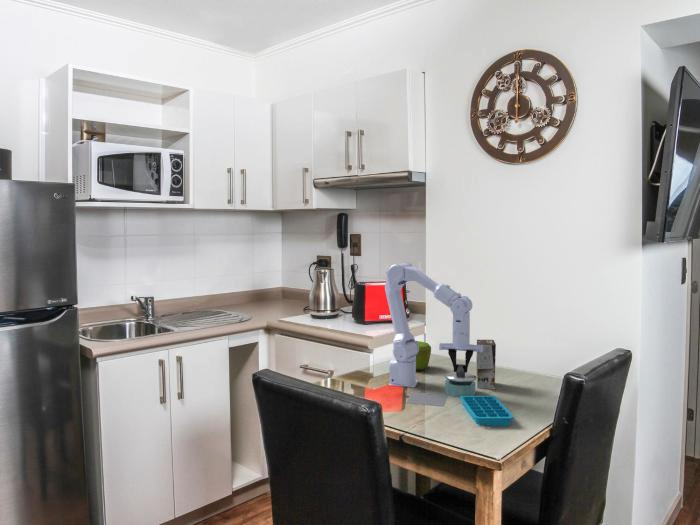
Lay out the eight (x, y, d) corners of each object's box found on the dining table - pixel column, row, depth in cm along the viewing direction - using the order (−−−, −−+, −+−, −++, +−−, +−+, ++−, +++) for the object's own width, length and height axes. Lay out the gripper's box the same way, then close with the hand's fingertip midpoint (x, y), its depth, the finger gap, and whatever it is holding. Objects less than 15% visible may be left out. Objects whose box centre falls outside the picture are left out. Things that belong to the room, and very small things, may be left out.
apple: (397, 364, 225) (397, 337, 224) (426, 363, 226) (426, 337, 225) (403, 372, 212) (404, 344, 212) (434, 372, 214) (434, 343, 213)
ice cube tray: (474, 428, 155) (475, 418, 155) (458, 405, 175) (458, 396, 175) (515, 427, 155) (515, 417, 155) (494, 404, 176) (494, 395, 175)
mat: (406, 404, 175) (406, 402, 175) (412, 393, 186) (412, 392, 186) (443, 407, 172) (443, 406, 172) (447, 396, 183) (447, 395, 183)
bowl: (444, 396, 183) (444, 385, 182) (447, 388, 192) (447, 377, 192) (474, 399, 180) (474, 387, 180) (475, 390, 189) (476, 379, 189)
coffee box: (495, 390, 190) (496, 344, 189) (476, 388, 191) (477, 343, 190) (493, 382, 199) (494, 339, 198) (475, 381, 200) (476, 338, 199)
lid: (442, 380, 182) (442, 366, 182) (447, 373, 192) (448, 360, 192) (473, 383, 179) (474, 369, 178) (477, 376, 188) (478, 363, 188)
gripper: (438, 333, 183) (438, 372, 184) (482, 335, 179) (481, 376, 180) (440, 329, 189) (440, 367, 190) (483, 331, 185) (482, 370, 186)
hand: (460, 371), depth 185 cm, fingers closed on lid, 3 cm apart
